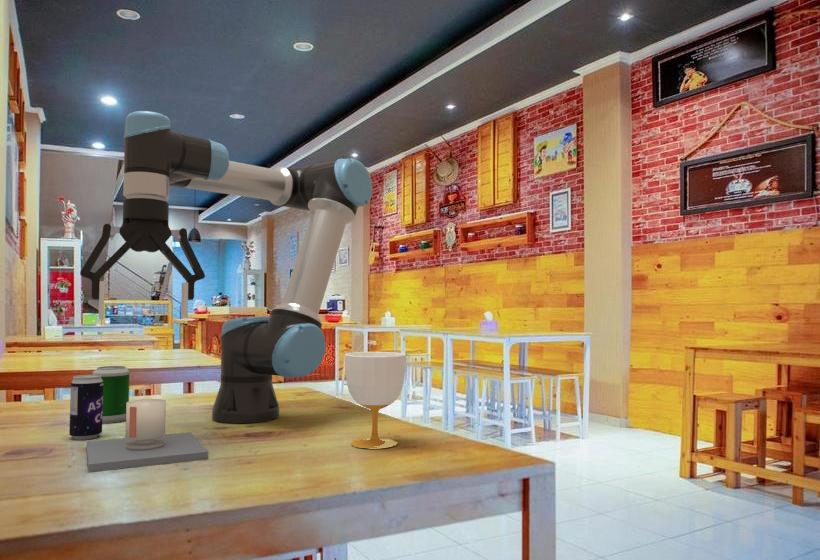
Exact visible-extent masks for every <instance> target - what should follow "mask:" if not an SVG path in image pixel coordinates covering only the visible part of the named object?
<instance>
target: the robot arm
mask: <svg viewBox="0 0 820 560" xmlns="http://www.w3.org/2000/svg"><path fill="white" fill-rule="evenodd" d="M123 133H124V134H123V135H124V136H123V139H124V140H123V142H124V144H123V145H124V150H123V151H124V155H123V160H124V161H123V186H122V187H123V189H122V190H123V192H122V193H123V196H124V197H125V198H126V199H124V200H123V202H122V224H121V226H115V225H110V224H109V223H105V224H103V227H102V232H101V237H100V239H99V240H98V242H97V243H96V245H95V246H94V249H93V250H92V252H91V253H90V255H89V257H88V258H87V260H86V261H85V263H84V265H83V266H82V268H81V270H80V272H79V274H80V276H81V277H82V278H86V279H88V280H90V282H91V298H92V300H98V317H97V318H98V320H105V315H104V313H105V285H106V284H105V280H101V279H102V277H103V276H104V275H105V274H106V273H107V272H108V271H109V270H110V269H111V268H112V267H113V266H114V265H115V264H117V262H118V261H119V260H121V258H122V257H123V256H124V255H125V254H126V253H127V252H128V251H130V249H131V250H132V251H133V252H137V253H140V252H141V253H143V252H148V253H157V252H159V251H160V253H161V254H162V255H163V256H164V257H165V259H166V260H168V261H169V263H170V264H171V265H172V267H174V269H175V270H176V271H177V272H178V273H179V274H180V275H181V277H182V278H183V279H184V280H185V282H181V298H180V299H181V307H180V308H181V309H180V311H181V312H180V313H181V314H180V318H181V319H188V315H189V314H188V312H189V311H188V310H189V301H194V299H195V283H196V282H197V281H201V280H204V279H205V278H206V275H205V272H204V270H203V268H202V266H201V264H200V262H199V260H198V258H197V256H196V254H195V252H194V250H193V248H192V246H191V243H190V242H189V238H188V230H187V228H185V227H182V228H181V229H171V228H170V225H169V221H170V220H169V214H170V211H169V209H170V206H169V203H168V202H167V200H169V199H170V187H174V188H175V187H176V188H183V189H184V188H185V189H190V190H191V189H192V190H198V191H203V192H211V193H218V194H225V195H232V196H238V197H246V198H252V199H259V200H266V201H269V202H270V203H271V204H272V205H274V206H279V207H286V208H291V209H295V210H296V209H297V210H302V211H308V212H311V214H310V216H309V220H308V222H307V225H306V230H305V232H304V236H303V238H302V241H301V244H300V247H299V249H298V253H297V256H296V259H295V262H294V266H293V269H292V270H291V274H290V277H289V281H288V283H287V286H286V289H285V292H284V295H283V298H282V300H281V304H280V305H277V306H275V307H273V308H272V309H271V312H270V316H262V315H261V316H248V317H246V316H245V317H237V318H230V319H228V320H226V321H224V322H223V324H222V326H221V333H220V334H221V335H220V342H221V344H220V346H221V347H220V349H221V350H220V352H221V353H220V385H219V386H220V387H219V388H218V392H217V395H216V397H215V400H214V402H213V406H212V409H211V416H212V417H211V420H212V421H215V422H218V423H226V424H227V423H230V424H248V423H249V424H250V423H252V424H253V423H259V422H262V423H263V422H267V421H272V420H275V419H278V418H279V417H280V404H279V401H278V398H277V394H276V391H275V388H274V386H273V376H277V377H283V378H286V379H288V378H302V377H306V376H309V375H310V374H312V373H313V372H315V371H316V370H317V369H318V368H319V366H320V365H321V363H322V361H323V360H324V357H325V354H326V348H327V342H326V341H325V339H326V337H325V334H324V331H323V330H322V326H323V323H322V321H321V319H320V317H319V313H320V310H321V306H322V303H323V299H324V298H325V294H326V291H327V288H328V284H329V281H330V277H331V274H332V271H333V268H334V265H335V262H336V258H337V255H338V251H339V249H340V245H341V242H342V238H343V235H344V234H345V233H344V232H345V229H346V225H348V224H350V223H353V222H354V220H355V218H356V215H357V211H358V208H360V207H364V206H366V205H367V204H369V202H370V201H371V199H372V196H373V182H372V179H371V177H370V176H371V175H370V173H369V171H368V169H367V168H366V166H365V165H364V164H363V163H362V162H361V161H360V160H358V159H355V158H351V157H350V158H349V157H348V158H338V159H337V160H333V161H328V162H322V163H316V164H309V165H305V166H298V167H285V166H276V168H274V169H273V168H269V167H264V166H259V165H254V164H248V163H243V162H237V161H233V160H230V155H229V151H228V149H227V147H226V146H225V145H224V144H222V143H219V142H216V141H215V140H211V139H210V138H208V139H206V138H201V137H198V136H193V135H189V134H186V133H182V132H177V131H175V130H172V126H171V120H170V118H169V117H168V116H167V115H164V114H162V113H159V112H155V111H150V110H137V111H133V112H130V113H129V114H127V116H126V117H125V124H124V132H123ZM116 234H119V235H120V236H121V238H122V239H123V240H124V243H123V244H122V245H121V246H120V247H119V248H118V249H117V250H116V251H115V252H114V253H113V254H112V255H111V256H110V257H109V258H108V259H107V260H106V261H105V262H104V263H103V264H102V265H101V266H100V267H99V268H98V269H97V270H96V271H95V272H93V271H92V269H93V267H94V266H95V264H96V262H97V260H98V259H99V257H100V256H101V254H102V252H103V250H104V249H105V247H106V245H107V243H108V242H109V239H113V238H114V237H115V236H116ZM171 237H173V238H174V240H175V241H176V242H179V246H180V248H181V249H182V251H183V254H184V255H185V257H186V259H187V262H188V264H189V266H190V268H191V269H192V272H193V273H194V274H192V273H191V272H190V270H189V269H188V268H187V267H186V265H184V263H183V262H182V261H181V260H180V259H179V257H178V256H177V255H176V254H175V253H174V252H173V251H172V249H171V248H170V246H169V245H168V244H167V241H168V240H169V239H170V238H171Z"/></svg>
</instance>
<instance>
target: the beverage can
mask: <svg viewBox="0 0 820 560" xmlns="http://www.w3.org/2000/svg"><path fill="white" fill-rule="evenodd" d="M72 378H73V379H72V381H71V383H70V395H69V396H70V400H69V401H70V402H69V403H70V405H69V431H68V432H69V433H68V434H69V436H70V437H72V438H73V440H76V441H78V440H79V441H82V440H85V441H86V440H87V441H88V440H92V439H93V440H94V439H97V438H98V437H99V435H101V433H103V423H102V417H103V380H102V378H101V375H93V374H81V375H75V376H73V377H72Z"/></svg>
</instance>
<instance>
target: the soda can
mask: <svg viewBox="0 0 820 560" xmlns="http://www.w3.org/2000/svg"><path fill="white" fill-rule="evenodd" d="M130 374H131V373H130V370H129V369H128V368H126V366H124V365H106V366H105V365H103V366H97V367H96V369H95V370H93V371H92V375H101V378H102V380H103V417H102V424H113V423H114V422H115V423H120V421H121V422H124V421H125V420H126V404H127V402H129V401H130ZM115 423H114V424H115Z"/></svg>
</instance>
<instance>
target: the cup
mask: <svg viewBox="0 0 820 560" xmlns="http://www.w3.org/2000/svg"><path fill="white" fill-rule="evenodd" d="M406 363H407V354H406V353H404V352H397V351H395V352H394V351H354V352H347V353H345V354H344V369H345V379H346V381H345V382H346V385H347V388H348V389H347V390H348V392H349V394H350V396H351V398H352V400H353V401H355V402H356V404H358V405H360V406H361V407H364V408H365V409H368V410H370V411H371V423H372V424H371V425H372V426H371V436H370V437H369V438H370V440H366V439H365V438H366V437H362V438H358V439H354V440H352V441H351V442H350V444H352V445H353V446H356V447H360V448H377V447H374V446H380V445H382V444H384V443H385V441H382V440H380V439H379V438H380V437H379V431H378V421H379V420H378V419H379V417H378V416H379V411H380V410H382V409H384V408H387V407H388V406H390V405H391V404H393V403H395V401H397V400H398V398H399V396H400V394H401V393H402V390H403V387H404V383H405V376H406V374H405V373H406V369H407V368H406V366H407V364H406ZM363 439H365V440H363ZM398 443H399V442H398ZM398 443H397V444H398ZM397 444H396V445H397ZM352 445H351V446H352ZM398 445H399V444H398ZM398 445H397V446H398ZM353 446H352V447H353ZM393 446H394V445H393ZM356 447H355V448H356ZM360 448H359V449H360Z"/></svg>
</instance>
